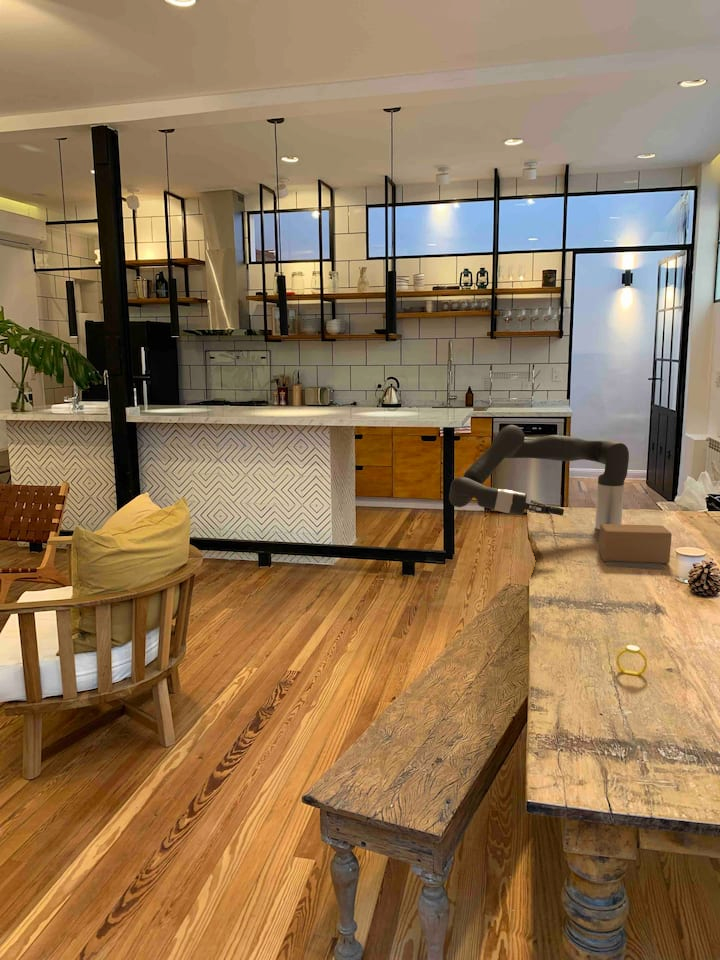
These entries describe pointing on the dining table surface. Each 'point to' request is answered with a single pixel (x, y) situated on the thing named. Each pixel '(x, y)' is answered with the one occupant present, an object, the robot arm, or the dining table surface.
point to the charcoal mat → (636, 565)
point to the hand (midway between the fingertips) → (563, 512)
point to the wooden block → (635, 543)
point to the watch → (632, 650)
